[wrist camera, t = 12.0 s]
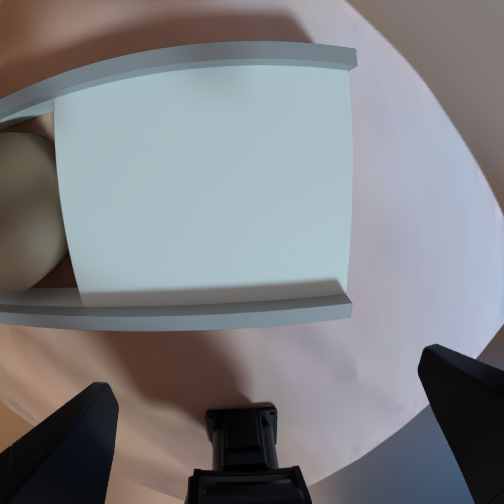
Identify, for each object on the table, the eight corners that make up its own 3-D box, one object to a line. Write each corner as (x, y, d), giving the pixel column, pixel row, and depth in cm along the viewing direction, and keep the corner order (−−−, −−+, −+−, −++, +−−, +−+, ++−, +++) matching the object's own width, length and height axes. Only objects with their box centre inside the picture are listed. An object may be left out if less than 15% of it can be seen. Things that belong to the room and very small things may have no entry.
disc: (87, 278, 19) (66, 299, 16) (-9, 270, 18) (-32, 285, 15) (80, 123, 16) (53, 119, 12) (-20, 144, 15) (-47, 146, 12)
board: (329, 287, 21) (357, 328, 15) (-15, 297, 19) (-47, 324, 14) (330, 67, 16) (365, 42, 10) (-42, 140, 14) (-83, 146, 9)
